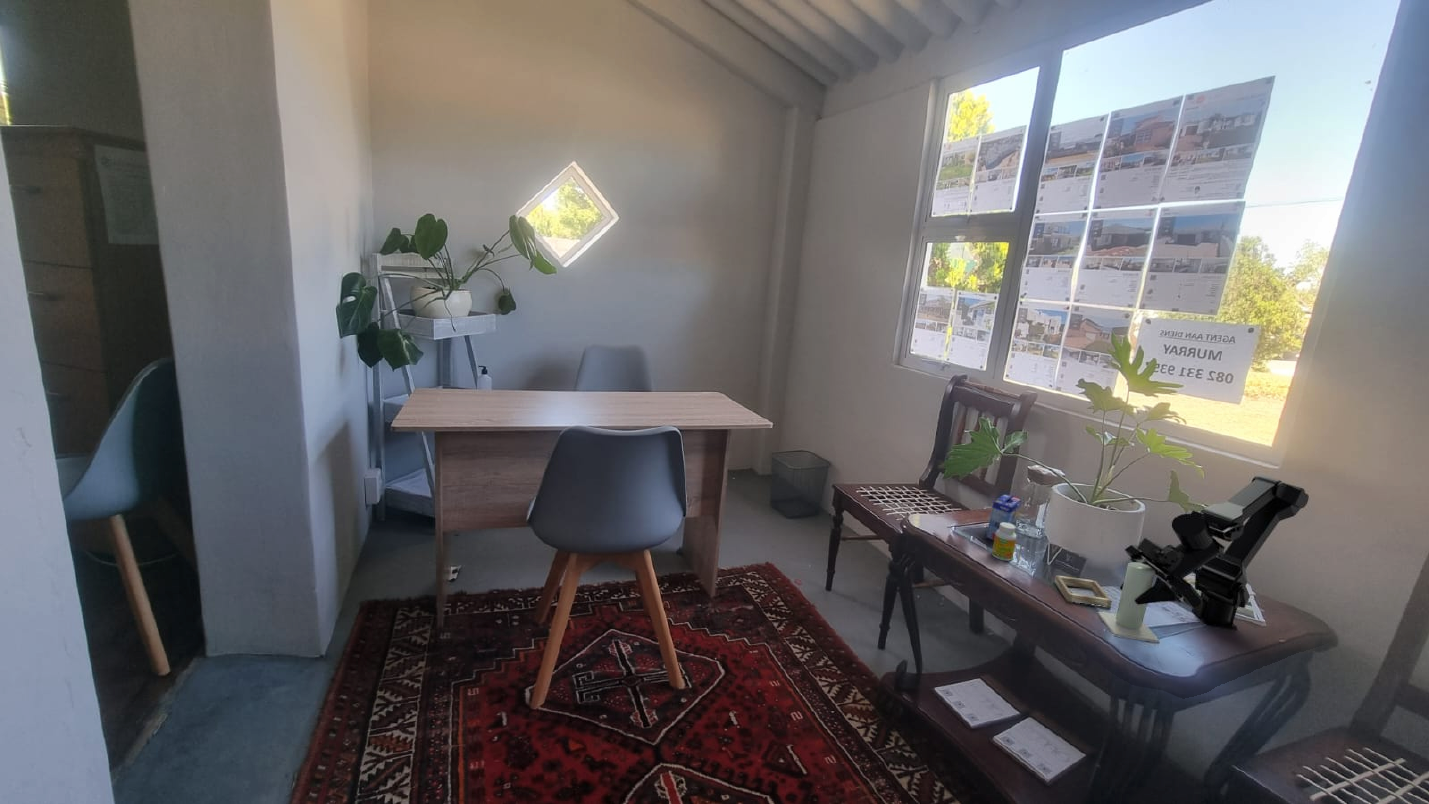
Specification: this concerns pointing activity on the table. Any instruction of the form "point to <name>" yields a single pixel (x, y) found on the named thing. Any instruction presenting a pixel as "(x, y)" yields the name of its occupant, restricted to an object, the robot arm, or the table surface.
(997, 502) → the ink cartridge box
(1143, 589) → the ceramic canister
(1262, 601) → the table surface
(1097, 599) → the birch collar
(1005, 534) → the supplement bottle
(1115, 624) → the cream square tile
